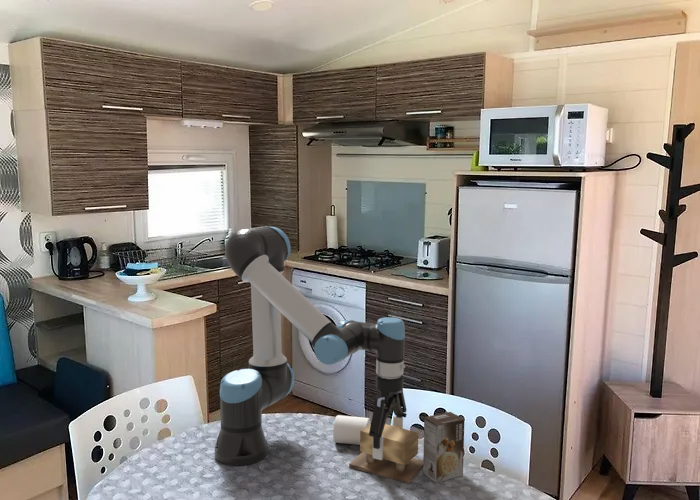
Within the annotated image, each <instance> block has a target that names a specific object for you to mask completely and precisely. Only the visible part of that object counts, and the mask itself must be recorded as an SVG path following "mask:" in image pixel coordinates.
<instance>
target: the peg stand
mask: <svg viewBox="0 0 700 500" xmlns="http://www.w3.org/2000/svg"><path fill="white" fill-rule="evenodd" d="M372 456H373V455H370V454H367V453H364V452H360V453H359V454H358V455H357V456H356V457H355V458H354V459H353V460H352V461H350V462H349V464H348V468H350V469H354V470H358V471H362V472H366V473H369V474H373V475H377V476H381V477H383V478H387V479H391V480H395V481H398V482H402V483H406V484H409V485H410V484H411V483H412V482H413V481H414V479H415V478H416V477H417V476H418V475H419V473H420V472H421V470H423V459H420V458H419V459H418V458H416V457H413V458H412V459H411V460H410V461H409V462H408V463H406V464H405V465H402V464H399V463H396V462H393V461H390V460H386V459H382V460H378V459H375V458H372Z"/></svg>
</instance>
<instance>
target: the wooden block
mask: <svg viewBox="0 0 700 500" xmlns="http://www.w3.org/2000/svg"><path fill="white" fill-rule="evenodd" d="M370 426H371V423H370V425H368V426H367V427H365V428H364V429H362V430H360V445H359V452H360V453H362V452H364V453H367V454H370V455H373V437H372V436H369V431H370ZM419 434H420V433H419V432H416V431H412V430H409V429H406V428H403V429H402V428H399V427H395V426H393V424H392V425H391V424H387V423H385V426H384V429H383V433H382V436H383V459H386V460H390V461H393V462H396V463H399V464H402V465H405V464H406V463H408V462H409V461H410V460H411V459H412V458H416V456H417V455H418V454H419Z"/></svg>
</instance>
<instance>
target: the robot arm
mask: <svg viewBox="0 0 700 500" xmlns="http://www.w3.org/2000/svg"><path fill="white" fill-rule="evenodd" d="M224 253H225V259H226V261H227V263H228V265H229V267H230V269H231V270H232V272H233V273H234V274H235V275H236V276H237V277H238V278H239V279H241V281H242V282H244V283H250V292H251V293H250V295H251V298H250V299H251V320H252V323H251V324H252V328H251V329H252V346H253V347H252V350H253V351H252V352H253V355H252V356H251V357H250V358H249V359H248V368H239V370H238V369H237V370H236V369H235V370H233V371H231V372H228V373H227V374H225V375H224V376H223V377H222V379H221V381H220V387H219V407H220V408H219V409H220V410H219V411H220V429H219V434H218V436H217V438H216V442H215V446H214V457H215V459H216V460H217V461H218V462H219V463H221V464H224V465H228V466H246V465H247V466H248V465H250V464H255V463H257V462H260V461H262V460H263V459H265V458H266V456H267V455H268V452H269V447H268V446H269V445H268V441H267V439H266V435H265V432H264V430H263V426H262V424H263V423H262V422H263V421H262V419H263V418H262V417H263V416H262V413H263V412H262V411H263V410H265V409H266V408H268V407H270V406H272V405H274V404H275V403H277V402H279V401H282V400H283V399H284V398H286V396H288V395H289V394H290V392H291V391H292V389H293V388H294V384H295V373H294V369H293V368H291V365H290V364H289V363H288V359H287V357H286V356H285V355H284V353H282V351H283V349H282V321H281V318H282V317H281V315H283V316H284V317H285V318H286V319H287V320H288V321H289V322H290V323H291V324H292V325H293V326H294V327H295V328H296V329H297V330H298V331H299V332H300V333H301V334H302V335H303V336H304V337H305V338H307V340H309V341H310V342H311V343H312V345H314V354H315V356H316V359H317V360H318V362H320V363H322V364H324V365H327V366H331V365H335V364H337V363H340V362H342V361H344V360H345V359H346V358H348V357H350V356H351V355H353V354H355V353H356V352H358V351H367V352H368V351H369V352H373V353H374V352H375V353H376V361H375V363H376V364H375V365H376V366H375V373H376V376H375V388H376V389H377V390H378V391H379V392H380V396H379V398H378V397H375V399H374V407H373V413H372V417H371V420H370V424H371V426H370V431H369V436H372V437H373V456H372V458H375V459H378V460H382V459H383V436H382V433H383V429H384V426H385V424H387V423H386V422H387V420H388V415H389V414H391V412H393V414H394V416H393V417H392V426H395V427H399V428H402V429H404V418H407V406H406V405H407V404H406V400H405V396H404V395H405V394H404V378H405V377H404V376H403V375H404V370H405V369H406V365H405V341H406V340H405V339H406V333H405V332H406V331H405V330H406V328H405V322H404V321H403V319H400V318H398V317H389V316H387V317H386V316H385V317H381V318H378V319H377V322H376V323H368V322H362V321H357V320H352V319H350V320H345V319H343V320H340V321H339V322H338V324H337V325H335V324H334V323H333V322H332V321H331V320H330V319H329V318H328V317H326V316H325V314H324V313H322V311H320V310H319V309H318V308H317V307H316V305H314V304H313V303H312V302H311V301H310V300H309V299H308V298H307V297H305V295H304V294H303V293H302V292H300V291H299V290H298V288H297V287H296V286H294V285H293V284H292V283H291V282H290V281H289V280H288V279H287V278H286V277H285V276H284V275H283V273H284V272H285V261H286V260H287V259H288V258H289V256H290V254H291V242H290V239H289V238H288V235H287V234H286V233H285V232H284V231H283V230H282V229H280V228H279V227H276V226H257V227H250V228H241V229H239V230H237V231H235V232H233V233H232V234H231V235H230V236H229V237H228V239H227V241H226V244H225V249H224Z"/></svg>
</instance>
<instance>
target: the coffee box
mask: <svg viewBox="0 0 700 500" xmlns="http://www.w3.org/2000/svg"><path fill="white" fill-rule="evenodd" d="M423 423H424V424H423V458H422V460H423V468H422V470H423V471H422V473H423V474H424V475H425V476H427V477H428V478H429V479H430V480H432V481H433V482H434V483H436V484H437V483H440V482H444V481H448V480H451V479H456V478H459V477H462V476H464V454H465V453H464V448H465V418H463V417H460V416H459V415H457V413H456V414H455V413H454V412H452V411H447V412H443V413H438V414H433V415H428V416H425V417H423Z"/></svg>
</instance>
